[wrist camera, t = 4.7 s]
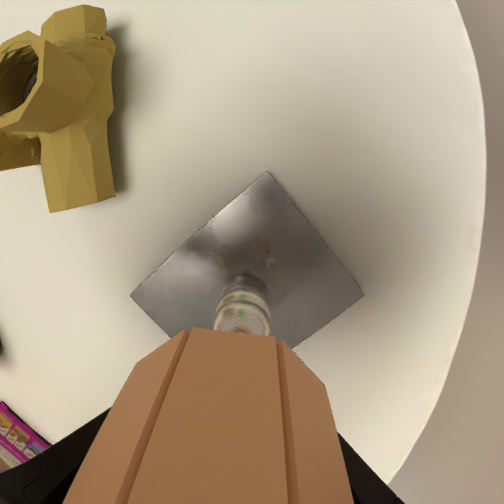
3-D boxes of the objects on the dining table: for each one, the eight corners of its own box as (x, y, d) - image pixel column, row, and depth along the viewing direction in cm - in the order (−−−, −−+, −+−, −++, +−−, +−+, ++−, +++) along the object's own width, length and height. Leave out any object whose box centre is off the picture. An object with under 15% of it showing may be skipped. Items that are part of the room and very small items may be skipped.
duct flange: (360, 290, 19) (394, 333, 13) (229, 382, 21) (222, 437, 16) (266, 171, 17) (270, 171, 11) (133, 291, 19) (95, 332, 14)
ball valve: (128, 27, 15) (21, 67, 14) (77, -44, 5) (-59, 43, 4) (138, 188, 19) (29, 212, 18) (73, 220, 9) (-57, 253, 8)
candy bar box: (-1, 410, 26) (-49, 472, 10) (1, 399, 25) (-53, 466, 9) (53, 457, 28) (15, 527, 12) (59, 450, 27) (17, 528, 11)
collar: (298, 458, 10) (310, 595, 3) (148, 441, 10) (105, 570, 3) (341, 339, 8) (422, 554, 2) (129, 315, 8) (-2, 497, 2)
